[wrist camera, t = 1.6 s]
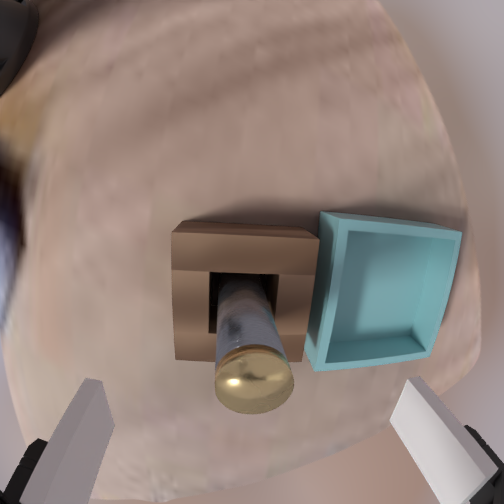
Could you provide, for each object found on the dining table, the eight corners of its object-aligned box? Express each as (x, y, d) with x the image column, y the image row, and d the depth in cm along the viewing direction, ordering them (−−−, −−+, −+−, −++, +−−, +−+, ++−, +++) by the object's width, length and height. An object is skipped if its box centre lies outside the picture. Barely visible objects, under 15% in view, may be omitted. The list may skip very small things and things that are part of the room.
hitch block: (182, 221, 24) (171, 232, 19) (301, 227, 25) (319, 239, 20) (182, 329, 26) (175, 359, 21) (289, 332, 27) (301, 361, 22)
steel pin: (219, 260, 25) (215, 355, 11) (261, 262, 25) (299, 355, 12) (218, 299, 26) (215, 414, 12) (258, 300, 26) (288, 412, 13)
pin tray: (320, 211, 25) (339, 218, 20) (434, 223, 26) (462, 232, 21) (302, 344, 28) (314, 371, 23) (408, 336, 29) (429, 356, 25)
